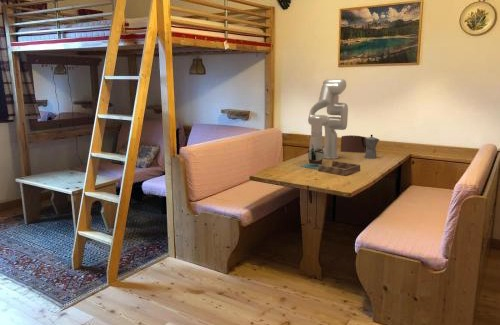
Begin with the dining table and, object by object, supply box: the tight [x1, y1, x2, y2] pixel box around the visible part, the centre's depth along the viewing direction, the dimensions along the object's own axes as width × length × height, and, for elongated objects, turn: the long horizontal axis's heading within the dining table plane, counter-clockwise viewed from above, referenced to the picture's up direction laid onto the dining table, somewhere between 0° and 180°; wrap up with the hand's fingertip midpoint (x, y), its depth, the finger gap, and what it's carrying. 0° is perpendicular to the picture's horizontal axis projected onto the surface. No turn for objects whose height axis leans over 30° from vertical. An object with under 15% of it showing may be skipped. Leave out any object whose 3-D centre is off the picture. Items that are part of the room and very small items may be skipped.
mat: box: [300, 162, 327, 170], centre depth 289 cm, size 16×12×1 cm
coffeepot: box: [361, 134, 380, 160], centre depth 315 cm, size 15×9×18 cm, turn 44°
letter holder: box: [340, 135, 367, 154], centre depth 341 cm, size 10×20×14 cm, turn 68°
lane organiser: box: [317, 160, 361, 177], centre depth 275 cm, size 21×18×4 cm
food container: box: [306, 148, 324, 165], centre depth 287 cm, size 12×6×10 cm, turn 62°
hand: (316, 159), depth 287 cm, fingers closed on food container, 6 cm apart
